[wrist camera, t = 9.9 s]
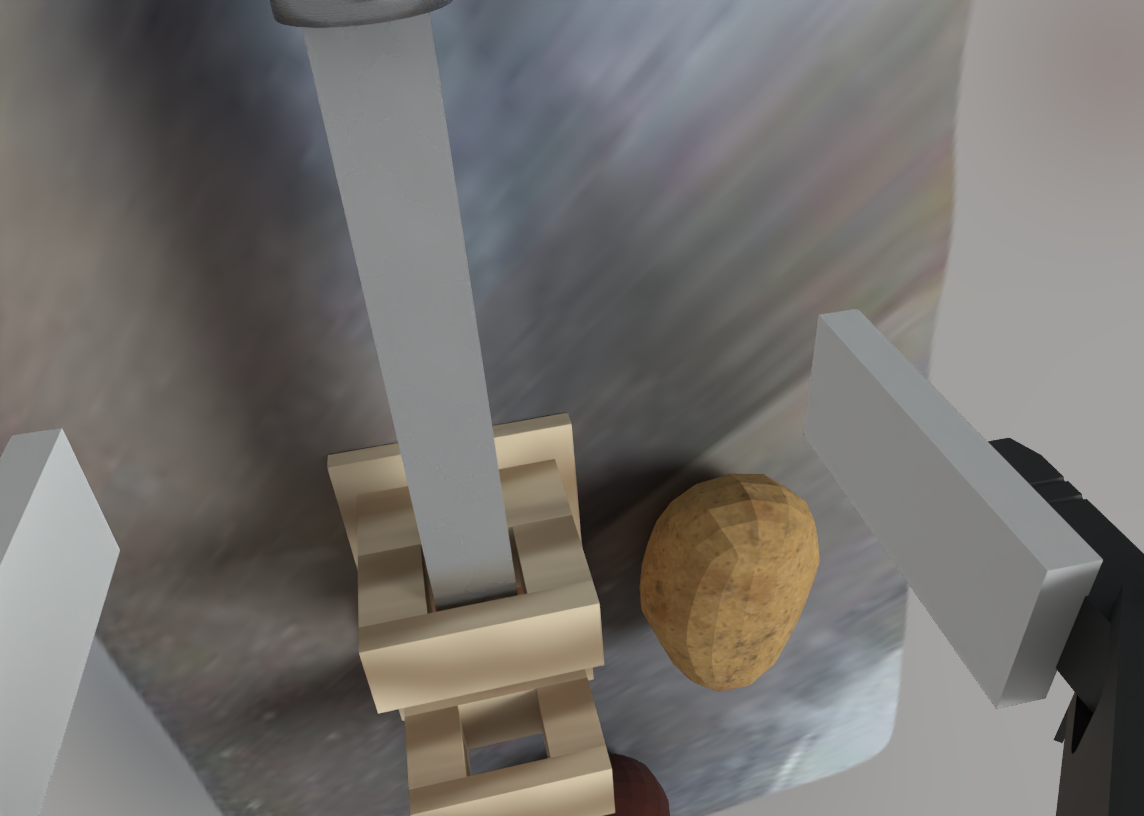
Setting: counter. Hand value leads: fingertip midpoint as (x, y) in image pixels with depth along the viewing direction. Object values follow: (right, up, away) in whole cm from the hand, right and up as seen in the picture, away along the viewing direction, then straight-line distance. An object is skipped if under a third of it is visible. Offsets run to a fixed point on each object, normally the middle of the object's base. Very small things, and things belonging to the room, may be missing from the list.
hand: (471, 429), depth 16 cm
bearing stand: (-4, -9, +34) cm, 35 cm away
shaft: (-4, +4, +19) cm, 20 cm away
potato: (+9, -7, +36) cm, 38 cm away
